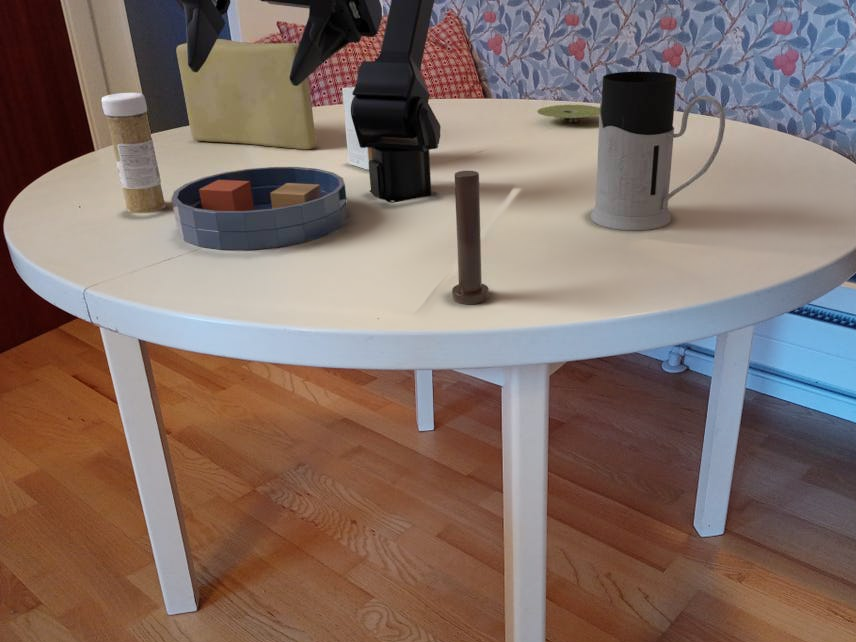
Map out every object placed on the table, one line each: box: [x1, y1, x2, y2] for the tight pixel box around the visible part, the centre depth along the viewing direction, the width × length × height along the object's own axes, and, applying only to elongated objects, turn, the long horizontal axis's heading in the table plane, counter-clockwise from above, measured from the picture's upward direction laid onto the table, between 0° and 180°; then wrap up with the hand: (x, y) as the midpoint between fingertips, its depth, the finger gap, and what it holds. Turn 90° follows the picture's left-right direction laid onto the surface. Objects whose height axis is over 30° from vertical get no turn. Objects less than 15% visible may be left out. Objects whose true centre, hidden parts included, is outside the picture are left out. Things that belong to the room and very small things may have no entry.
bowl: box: [170, 166, 349, 251], centre depth 90 cm, size 18×18×4 cm
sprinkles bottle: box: [101, 92, 167, 214], centre depth 95 cm, size 5×5×14 cm
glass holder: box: [590, 70, 726, 231], centre depth 86 cm, size 9×14×15 cm, turn 49°
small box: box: [341, 86, 372, 171], centre depth 114 cm, size 8×6×10 cm
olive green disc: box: [536, 104, 600, 124], centre depth 138 cm, size 11×11×2 cm
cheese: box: [175, 38, 317, 150], centre depth 127 cm, size 22×10×15 cm, turn 59°
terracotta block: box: [199, 180, 254, 211], centre depth 91 cm, size 4×4×4 cm
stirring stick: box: [451, 170, 490, 305], centre depth 70 cm, size 3×3×11 cm
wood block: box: [270, 183, 321, 209], centre depth 89 cm, size 4×4×4 cm
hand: (242, 75), depth 68 cm, fingers open, 9 cm apart
